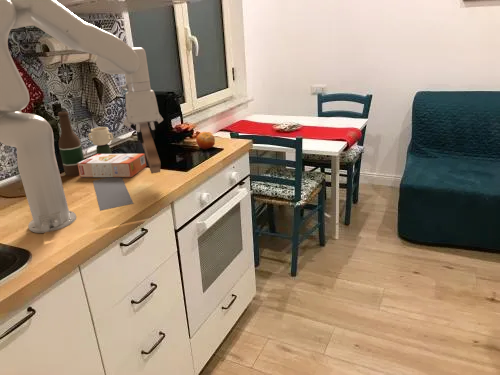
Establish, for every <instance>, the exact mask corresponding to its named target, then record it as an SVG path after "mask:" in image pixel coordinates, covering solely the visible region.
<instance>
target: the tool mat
mask: <svg viewBox="0 0 500 375" xmlns="http://www.w3.org/2000/svg"><path fill="white" fill-rule="evenodd" d="M92 183H93V188H94V191H95V192H94V193H95V196H96V200H97V204H98V208H99V212H101V211H105V210H109V209H115V208H119V207H123V206H130V205H134V204H135V203H134V201H133V199H132V197H131V195H130V193H129V190H128V188H127V185H126V184H125V181H124V180H123V177H104V178H100V179H94V180H92Z"/></svg>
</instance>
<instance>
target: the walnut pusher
mask: <svg viewBox="0 0 500 375" xmlns="http://www.w3.org/2000/svg"><path fill="white" fill-rule="evenodd" d="M131 124H133V123H131ZM133 125H134V124H133ZM149 128H150V126H149V122H145V123H140V130H141V132H142V138H143V143H142V148H143V151H144V154H145V159H146V162H147V164H148V167H149V170H150V171H149V172H150V174H152V175H153V174H158V173H161V165H162V164H161V159H160V157H159V154H158V150H157V148H156V144H155V140H154V141H153V138H152V135H151V133H150V129H149Z"/></svg>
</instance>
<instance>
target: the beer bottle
mask: <svg viewBox="0 0 500 375" xmlns="http://www.w3.org/2000/svg"><path fill="white" fill-rule="evenodd" d="M69 115H70V113H69V112H68V111H59V112H57V116H58V119H59V124H60V126H59V127H60V136H59V138H58V149H59V153H60V158H61V162H62V167H63V171H64V174H65V176H68V177H71V176H72V177H73V176H80V174H79V169H78V163H79V162H81V161H83V160H85V157H84V152H83V148H82V147H83V146H82V144H81V139H80V138H79V136H78V135H77V134H75V132H74V130H73V128H72V123H71V120H70V117H69Z"/></svg>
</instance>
